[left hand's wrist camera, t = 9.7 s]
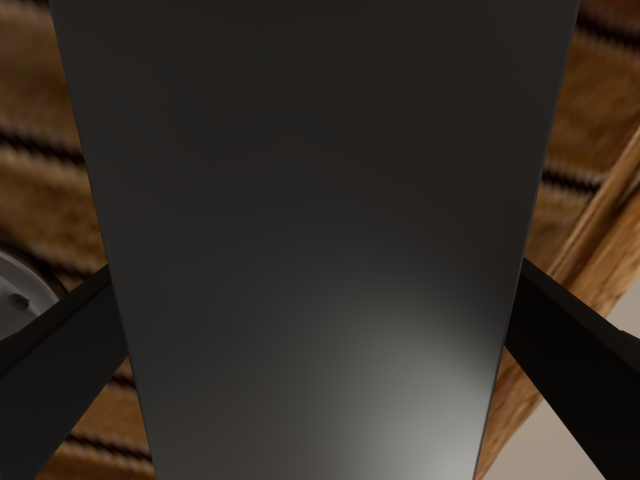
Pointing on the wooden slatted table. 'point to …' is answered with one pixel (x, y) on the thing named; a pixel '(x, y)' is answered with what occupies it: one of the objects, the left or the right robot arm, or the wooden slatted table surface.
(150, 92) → the bar
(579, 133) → the wooden slatted table surface
